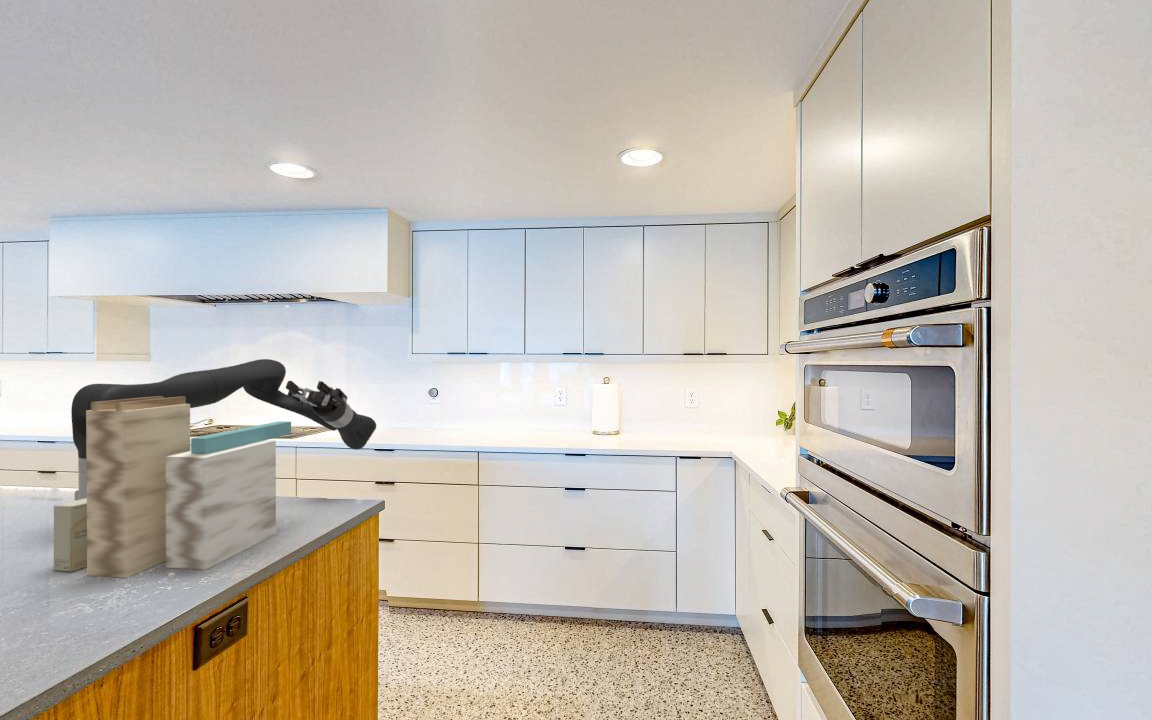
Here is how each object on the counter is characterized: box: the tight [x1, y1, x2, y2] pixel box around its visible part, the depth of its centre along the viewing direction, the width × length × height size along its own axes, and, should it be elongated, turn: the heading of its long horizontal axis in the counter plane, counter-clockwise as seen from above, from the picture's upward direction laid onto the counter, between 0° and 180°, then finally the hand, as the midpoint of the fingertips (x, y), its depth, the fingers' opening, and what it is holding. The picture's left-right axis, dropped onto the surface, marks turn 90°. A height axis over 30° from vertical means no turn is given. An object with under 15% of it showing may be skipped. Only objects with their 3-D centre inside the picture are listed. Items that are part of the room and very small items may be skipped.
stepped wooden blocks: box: [86, 396, 277, 579], centre depth 110 cm, size 19×25×32 cm
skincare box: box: [53, 498, 87, 572], centre depth 103 cm, size 6×4×12 cm
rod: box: [190, 420, 292, 454], centre depth 117 cm, size 3×26×3 cm, turn 174°
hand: (303, 384), depth 140 cm, fingers open, 8 cm apart
